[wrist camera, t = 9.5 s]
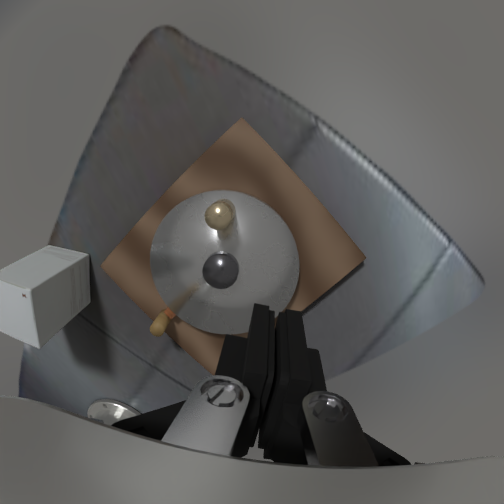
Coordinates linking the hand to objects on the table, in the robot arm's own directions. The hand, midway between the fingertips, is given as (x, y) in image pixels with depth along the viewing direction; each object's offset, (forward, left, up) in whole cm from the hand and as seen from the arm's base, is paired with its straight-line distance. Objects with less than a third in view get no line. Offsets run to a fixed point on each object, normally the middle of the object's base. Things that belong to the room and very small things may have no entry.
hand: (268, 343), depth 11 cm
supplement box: (-25, +13, -25) cm, 38 cm away
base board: (-7, 0, -25) cm, 26 cm away
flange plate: (-7, 0, -23) cm, 24 cm away
